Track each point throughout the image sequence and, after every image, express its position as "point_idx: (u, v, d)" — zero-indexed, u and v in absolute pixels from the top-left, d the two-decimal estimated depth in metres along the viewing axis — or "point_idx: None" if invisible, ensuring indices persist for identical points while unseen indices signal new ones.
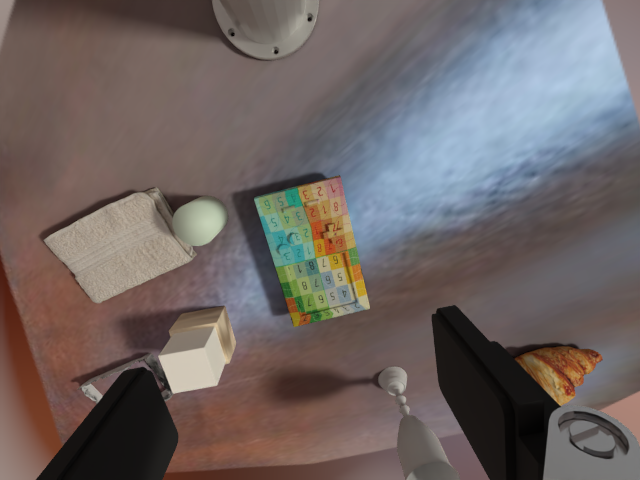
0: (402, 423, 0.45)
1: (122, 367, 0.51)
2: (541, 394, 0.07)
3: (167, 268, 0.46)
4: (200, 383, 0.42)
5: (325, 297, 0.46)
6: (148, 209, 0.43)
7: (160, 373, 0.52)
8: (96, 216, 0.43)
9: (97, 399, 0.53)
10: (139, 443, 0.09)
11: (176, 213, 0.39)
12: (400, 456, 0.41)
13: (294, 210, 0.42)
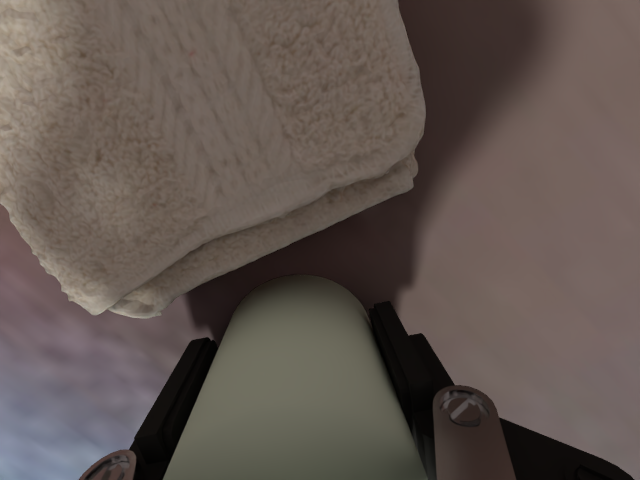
0: None
1: None
2: (444, 378, 0.08)
3: (7, 202, 0.08)
4: None
5: None
6: (336, 145, 0.08)
7: None
8: None
9: None
10: None
11: (373, 432, 0.06)
12: None
13: None
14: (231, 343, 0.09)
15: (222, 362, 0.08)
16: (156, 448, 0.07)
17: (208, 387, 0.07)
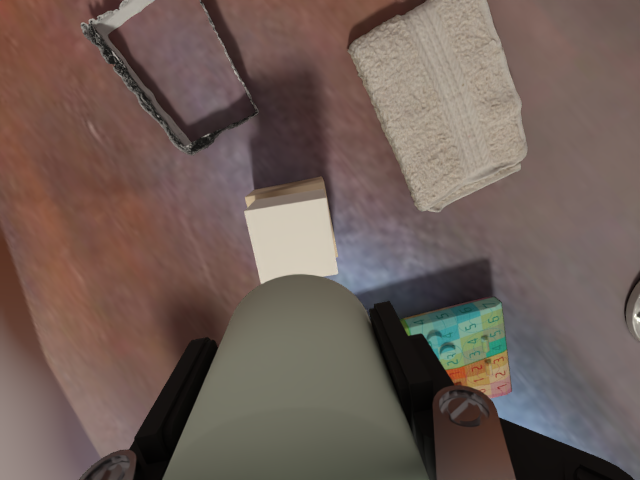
0: None
1: (230, 60, 0.28)
2: (443, 377, 0.08)
3: (412, 176, 0.30)
4: (265, 261, 0.24)
5: None
6: (503, 157, 0.30)
7: None
8: (503, 77, 0.28)
9: None
10: None
11: (374, 432, 0.06)
12: None
13: (483, 350, 0.34)
14: (231, 343, 0.08)
15: (222, 362, 0.08)
16: (156, 448, 0.07)
17: (208, 387, 0.07)
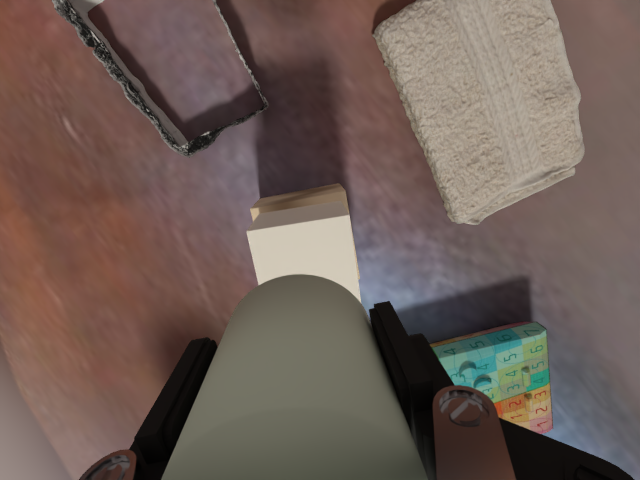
0: None
1: None
2: (443, 377, 0.08)
3: (448, 183, 0.26)
4: None
5: None
6: (555, 160, 0.26)
7: None
8: (559, 65, 0.23)
9: None
10: None
11: (373, 433, 0.06)
12: None
13: (523, 383, 0.29)
14: (230, 343, 0.08)
15: (221, 362, 0.08)
16: (156, 448, 0.07)
17: (206, 387, 0.07)
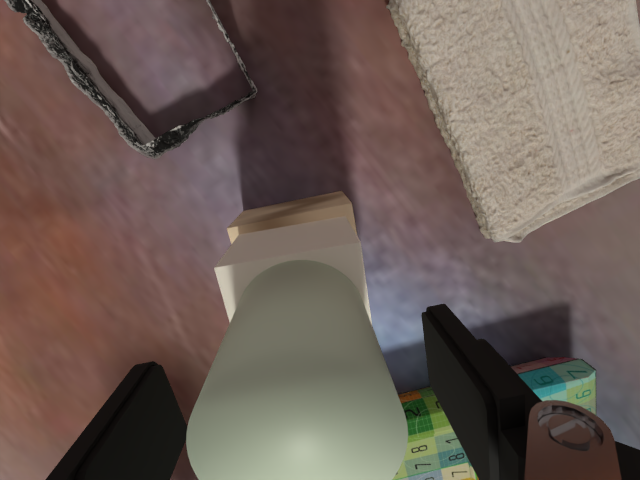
0: None
1: None
2: (524, 390, 0.07)
3: (484, 193, 0.21)
4: None
5: (392, 479, 0.25)
6: (619, 161, 0.20)
7: None
8: (629, 38, 0.18)
9: None
10: (151, 435, 0.09)
11: (360, 373, 0.07)
12: None
13: None
14: (243, 313, 0.10)
15: (236, 327, 0.09)
16: None
17: (226, 345, 0.09)
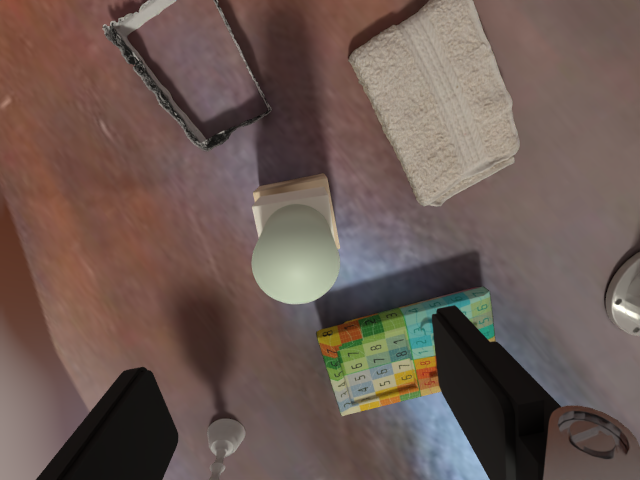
0: None
1: None
2: (541, 394, 0.07)
3: (414, 174, 0.33)
4: None
5: (359, 370, 0.37)
6: (497, 152, 0.32)
7: None
8: (494, 78, 0.30)
9: None
10: (139, 443, 0.09)
11: (320, 232, 0.19)
12: None
13: None
14: (271, 220, 0.22)
15: (269, 224, 0.21)
16: None
17: (265, 228, 0.21)
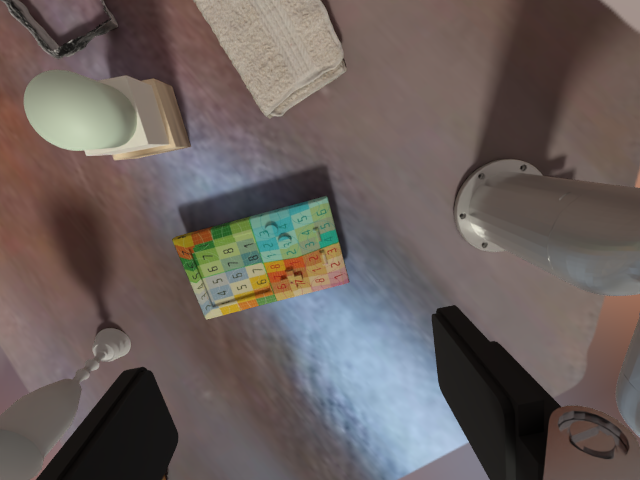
0: (69, 385, 0.37)
1: None
2: (541, 394, 0.07)
3: (250, 84, 0.36)
4: None
5: (215, 273, 0.41)
6: (323, 62, 0.36)
7: (86, 38, 0.35)
8: None
9: None
10: (139, 443, 0.09)
11: (75, 75, 0.23)
12: (27, 403, 0.32)
13: (316, 240, 0.40)
14: None
15: None
16: None
17: None
